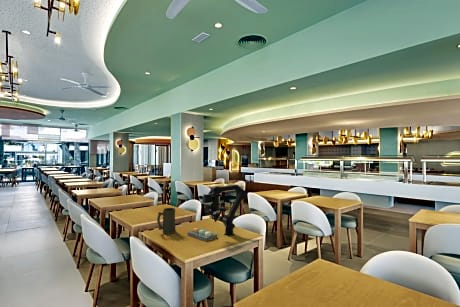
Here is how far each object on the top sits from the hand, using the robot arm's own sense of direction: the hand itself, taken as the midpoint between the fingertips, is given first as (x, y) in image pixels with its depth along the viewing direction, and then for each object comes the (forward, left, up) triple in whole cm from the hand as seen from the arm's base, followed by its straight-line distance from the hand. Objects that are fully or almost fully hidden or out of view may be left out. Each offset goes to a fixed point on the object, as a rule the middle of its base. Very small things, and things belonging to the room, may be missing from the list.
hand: (215, 221), depth 197 cm
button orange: (+6, -16, -11) cm, 21 cm away
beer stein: (+20, -38, -12) cm, 45 cm away
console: (+6, -9, -12) cm, 16 cm away
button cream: (+6, -2, -11) cm, 13 cm away
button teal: (+6, -9, -11) cm, 16 cm away
